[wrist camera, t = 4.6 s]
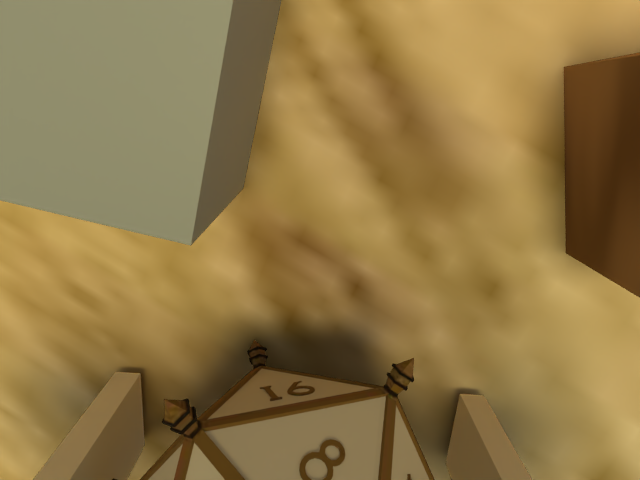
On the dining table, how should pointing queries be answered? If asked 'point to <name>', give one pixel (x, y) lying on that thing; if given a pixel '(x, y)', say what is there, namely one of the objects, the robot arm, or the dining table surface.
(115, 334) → the dining table surface
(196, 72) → the slate-blue block
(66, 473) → the robot arm
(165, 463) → the game die
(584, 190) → the walnut block
